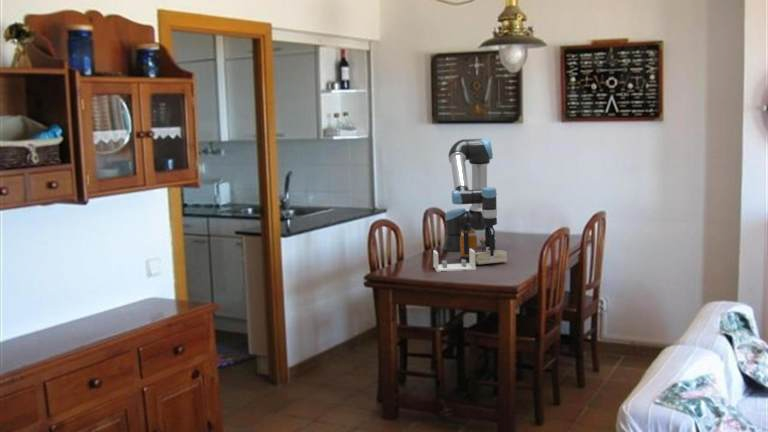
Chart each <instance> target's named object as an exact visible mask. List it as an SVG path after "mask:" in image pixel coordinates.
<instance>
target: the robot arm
mask: <svg viewBox="0 0 768 432" xmlns="http://www.w3.org/2000/svg"><path fill="white" fill-rule="evenodd" d="M493 158H494V157H493V148H492V144H491V140H490V139H488V138H469V139H465V138H464V139H461V140H458V141H456V142H455V143H454V144H453V145H452V146H451V147H450V149H449V151H448V161H449V163H450V165H451V172H452V179H453V188H454V190H452V191H451V203H452V204H453V205H460V206H461V205H471V206H469V210H466V208H456V209H454V208H453V209H451V210H448V211H446V212H445V239H444V243H443V248H442V249H443V250H444V251H446V252H447V251H448V252H460V236H461V231H462V230H463V229H465V228H464V225H465V224H467V223H471V224H472V226H471V228H472V230H475V232H477V231H478V232H479V231H484V238H485V245H486V252H487V251H489V262H495V261H494V251H495V250H496V242H495V238H496V237H495V235H496V234H495V233H496V230H495V228H494V226H496V225H498V221H497V220H498V219H497V217H498V209H497V195H498V194H497V188H496V187H493V186H488V165H489V164H490V161H491V160H492V159H493ZM466 161H469V164H470V165H471V189H470V187H469V181H468V173H467V168H466Z"/></svg>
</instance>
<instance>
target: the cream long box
mask: <svg viewBox="0 0 768 432" xmlns="http://www.w3.org/2000/svg"><path fill="white" fill-rule="evenodd" d="M507 255H508V252H507V251H505V250H502V249H500V250H494V261H495V262H489V251H487V252H482V251H477V253H475V264H477V265H485V264H495V263H496V264H497V263H504V262H508V256H507Z"/></svg>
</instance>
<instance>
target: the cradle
mask: <svg viewBox="0 0 768 432" xmlns="http://www.w3.org/2000/svg"><path fill="white" fill-rule="evenodd" d="M432 257H433V264H432V265H433V266H432V267H433V268H435V269H434V270H435V271H436V273H442V272H441V271H447V272H459V271H460V272H463V270H467V271H477V267H476V263H475V251H474V250H473V249H469V259H470V261H469V262H467V261H466V260H465V259H460V260H461V261H460V262H461V263H448V261H447V260H446V259H445V260H441V261H442V262H441V264H439V253H438V251H437V250H433V256H432Z"/></svg>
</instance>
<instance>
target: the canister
mask: <svg viewBox="0 0 768 432" xmlns="http://www.w3.org/2000/svg"><path fill="white" fill-rule="evenodd" d="M471 226H472V224H471V223H467V224H465V225H464V228H465V229H463V230H462V231H461V236H460V251H459V252H460V253H459V254H460V260H462V259H465V260H466V262H470V259H469V249H473V250H474V251H475V253H477V252H478V237H477V233H476V232H477V231H475V230H472V228H471Z"/></svg>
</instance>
